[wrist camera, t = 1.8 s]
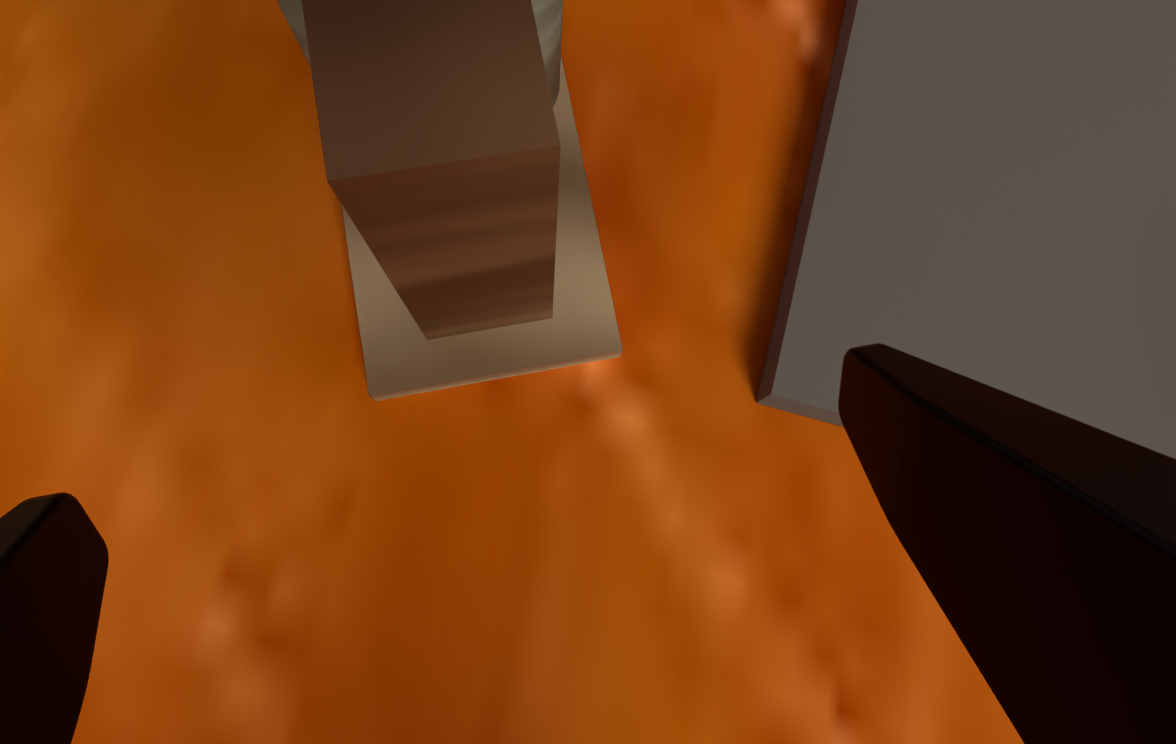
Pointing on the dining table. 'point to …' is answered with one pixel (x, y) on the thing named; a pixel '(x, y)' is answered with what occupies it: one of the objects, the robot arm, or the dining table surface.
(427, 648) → the dining table surface
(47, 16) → the dining table surface
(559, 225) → the condiment caddy
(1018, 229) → the grey tray
